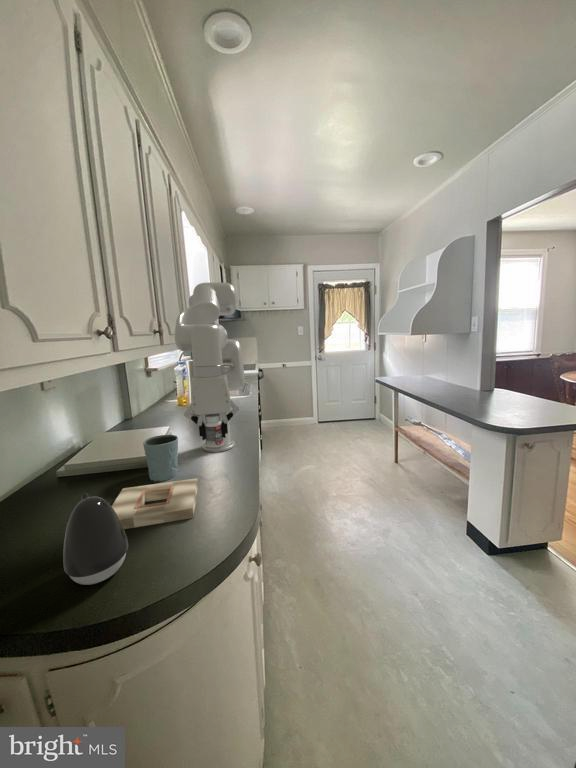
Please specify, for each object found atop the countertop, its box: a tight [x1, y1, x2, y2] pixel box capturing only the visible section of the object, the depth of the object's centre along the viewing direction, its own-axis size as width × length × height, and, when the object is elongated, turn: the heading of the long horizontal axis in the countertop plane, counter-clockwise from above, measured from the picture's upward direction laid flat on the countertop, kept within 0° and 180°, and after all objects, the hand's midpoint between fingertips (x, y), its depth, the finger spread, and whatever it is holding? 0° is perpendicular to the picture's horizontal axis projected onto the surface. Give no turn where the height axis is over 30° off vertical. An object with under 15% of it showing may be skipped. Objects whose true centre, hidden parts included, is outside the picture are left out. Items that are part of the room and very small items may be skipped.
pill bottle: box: [204, 414, 223, 447], centre depth 82 cm, size 5×5×8 cm
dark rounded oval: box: [62, 492, 129, 586], centre depth 56 cm, size 10×10×15 cm
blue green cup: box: [142, 434, 179, 482], centre depth 96 cm, size 10×10×12 cm
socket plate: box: [111, 477, 199, 530], centre depth 78 cm, size 16×20×3 cm
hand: (214, 436), depth 82 cm, fingers closed on pill bottle, 4 cm apart
